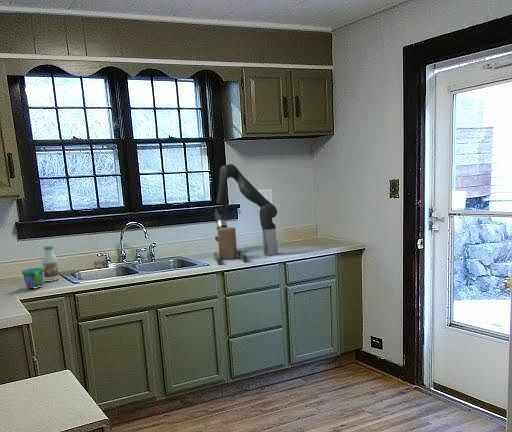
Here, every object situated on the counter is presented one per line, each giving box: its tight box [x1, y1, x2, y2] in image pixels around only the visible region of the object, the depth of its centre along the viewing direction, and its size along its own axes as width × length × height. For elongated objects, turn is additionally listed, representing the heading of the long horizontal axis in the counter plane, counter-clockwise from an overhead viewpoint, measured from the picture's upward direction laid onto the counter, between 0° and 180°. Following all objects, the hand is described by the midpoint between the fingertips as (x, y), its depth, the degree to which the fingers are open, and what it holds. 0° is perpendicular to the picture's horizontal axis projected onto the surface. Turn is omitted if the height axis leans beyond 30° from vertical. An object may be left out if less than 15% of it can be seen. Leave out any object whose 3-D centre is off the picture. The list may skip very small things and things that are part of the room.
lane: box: [213, 249, 248, 266], centre depth 298 cm, size 18×26×4 cm
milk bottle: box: [42, 245, 60, 281], centre depth 267 cm, size 8×8×20 cm
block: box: [217, 226, 238, 261], centre depth 305 cm, size 10×10×20 cm
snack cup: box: [21, 267, 44, 289], centre depth 250 cm, size 16×10×10 cm
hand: (225, 247), depth 316 cm, fingers closed
